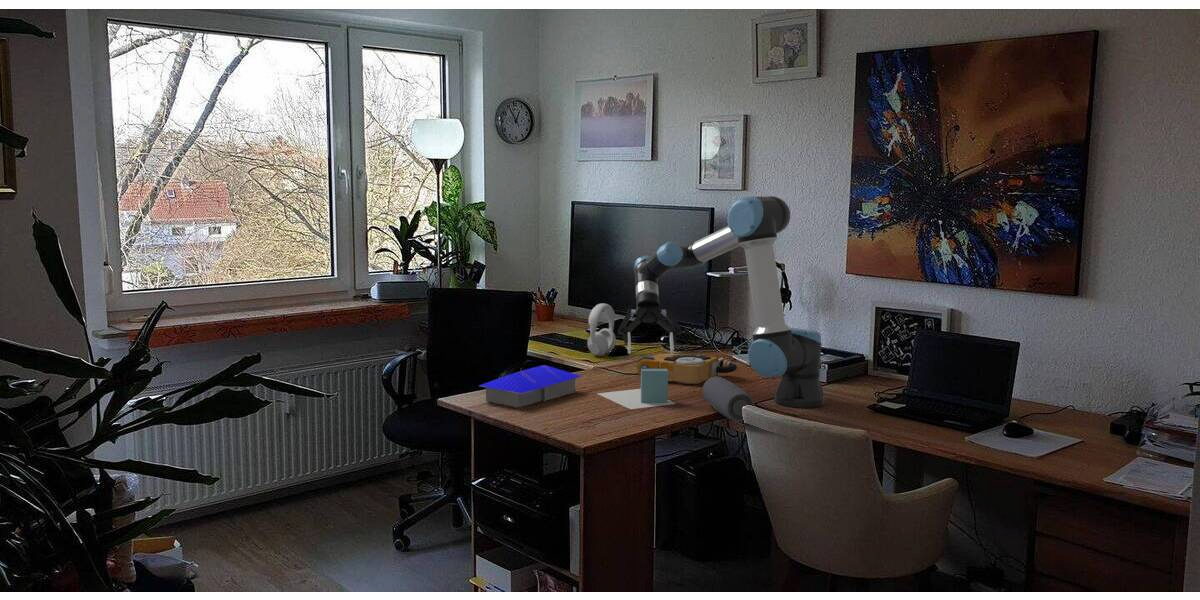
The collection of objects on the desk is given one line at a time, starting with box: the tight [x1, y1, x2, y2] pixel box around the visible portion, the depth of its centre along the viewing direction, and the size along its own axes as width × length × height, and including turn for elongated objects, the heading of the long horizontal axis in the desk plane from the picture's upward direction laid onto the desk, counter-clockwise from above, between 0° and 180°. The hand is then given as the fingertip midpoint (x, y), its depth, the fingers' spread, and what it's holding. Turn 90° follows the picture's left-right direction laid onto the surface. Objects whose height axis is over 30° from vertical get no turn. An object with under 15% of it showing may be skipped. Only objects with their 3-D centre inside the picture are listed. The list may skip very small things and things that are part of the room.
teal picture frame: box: [640, 369, 669, 403], centre depth 300 cm, size 8×3×10 cm, turn 92°
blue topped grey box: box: [478, 364, 583, 408], centre depth 308 cm, size 30×17×9 cm, turn 144°
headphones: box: [586, 303, 617, 357], centre depth 375 cm, size 18×8×20 cm, turn 156°
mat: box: [597, 388, 677, 410], centre depth 305 cm, size 22×16×1 cm
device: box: [636, 352, 738, 385], centre depth 336 cm, size 23×8×30 cm
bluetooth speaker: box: [701, 376, 755, 423], centre depth 286 cm, size 23×9×10 cm, turn 12°
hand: (650, 351), depth 309 cm, fingers open, 13 cm apart
